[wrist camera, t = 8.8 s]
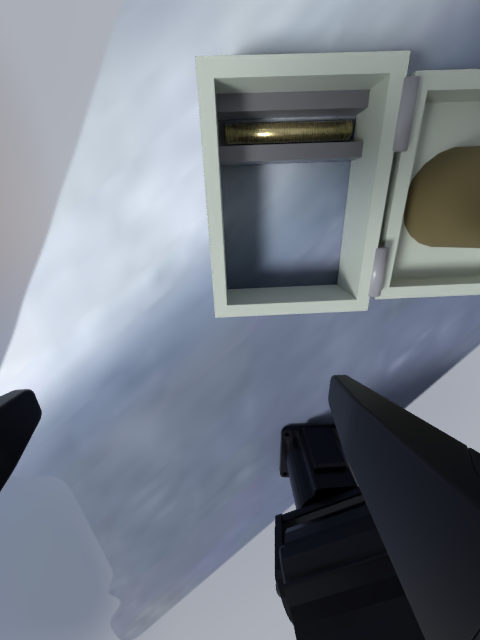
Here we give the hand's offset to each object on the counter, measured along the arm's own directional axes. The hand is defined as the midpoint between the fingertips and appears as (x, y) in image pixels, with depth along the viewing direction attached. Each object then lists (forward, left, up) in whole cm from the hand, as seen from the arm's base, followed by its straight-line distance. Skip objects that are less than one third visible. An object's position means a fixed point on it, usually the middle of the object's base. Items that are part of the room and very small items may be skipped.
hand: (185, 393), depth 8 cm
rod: (+9, -5, -12) cm, 16 cm away
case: (+5, -5, -13) cm, 15 cm away
